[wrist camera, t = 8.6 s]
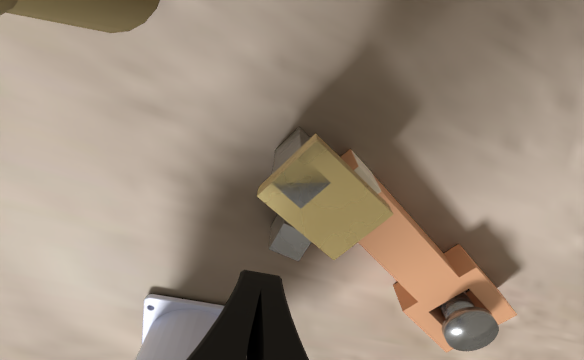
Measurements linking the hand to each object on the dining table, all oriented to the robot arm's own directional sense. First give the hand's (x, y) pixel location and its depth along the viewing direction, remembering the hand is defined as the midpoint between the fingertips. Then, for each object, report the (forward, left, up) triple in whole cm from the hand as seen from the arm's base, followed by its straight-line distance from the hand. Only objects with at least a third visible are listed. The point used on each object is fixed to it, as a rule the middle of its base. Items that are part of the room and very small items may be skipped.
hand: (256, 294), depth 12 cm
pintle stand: (-2, -7, -10) cm, 13 cm away
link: (-3, -10, -10) cm, 14 cm away
